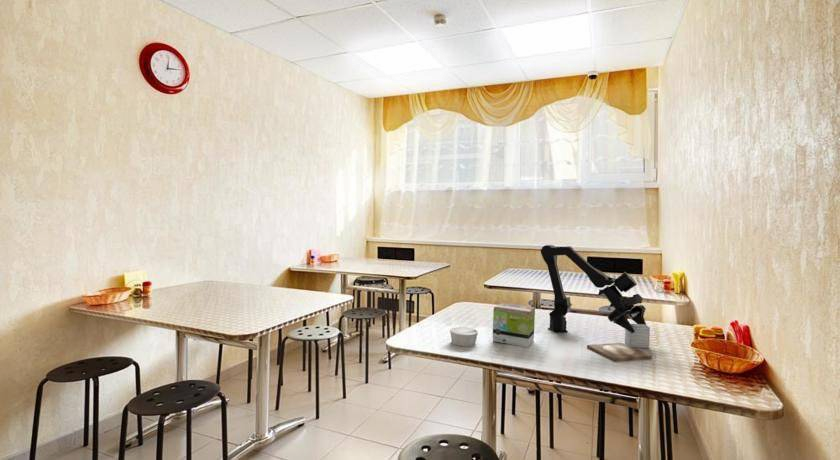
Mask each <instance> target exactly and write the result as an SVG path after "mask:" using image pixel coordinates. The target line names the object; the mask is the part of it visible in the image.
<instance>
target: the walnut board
mask: <svg viewBox="0 0 840 460" xmlns="http://www.w3.org/2000/svg"><path fill="white" fill-rule="evenodd" d="M586 348H587V349H589V350H590V351H592V352H594V353H597V354H599V355H600V356H602V357H605V358H607V359H609V360H610V361H613V362H629V361H638V360H639V361H640V360H652V359H653V356H652V355H651V354H649V353H647V352H644V351H642V350H640V349H637V348H635V347H631V346H628V345H626V344H625V343H623V342H610V343H596V344H586Z"/></svg>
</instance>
